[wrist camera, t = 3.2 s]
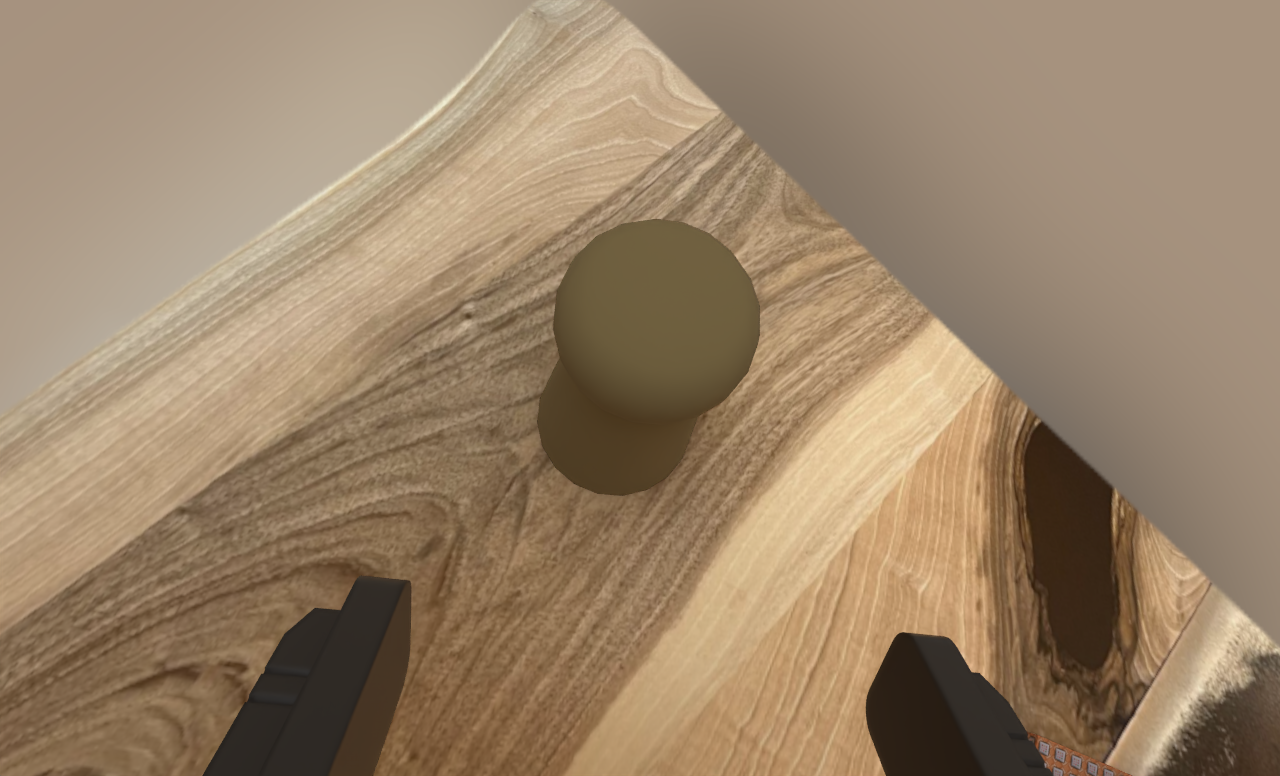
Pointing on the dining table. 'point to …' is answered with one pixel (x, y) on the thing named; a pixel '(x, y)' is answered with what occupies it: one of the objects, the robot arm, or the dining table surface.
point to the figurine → (1070, 760)
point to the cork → (643, 352)
